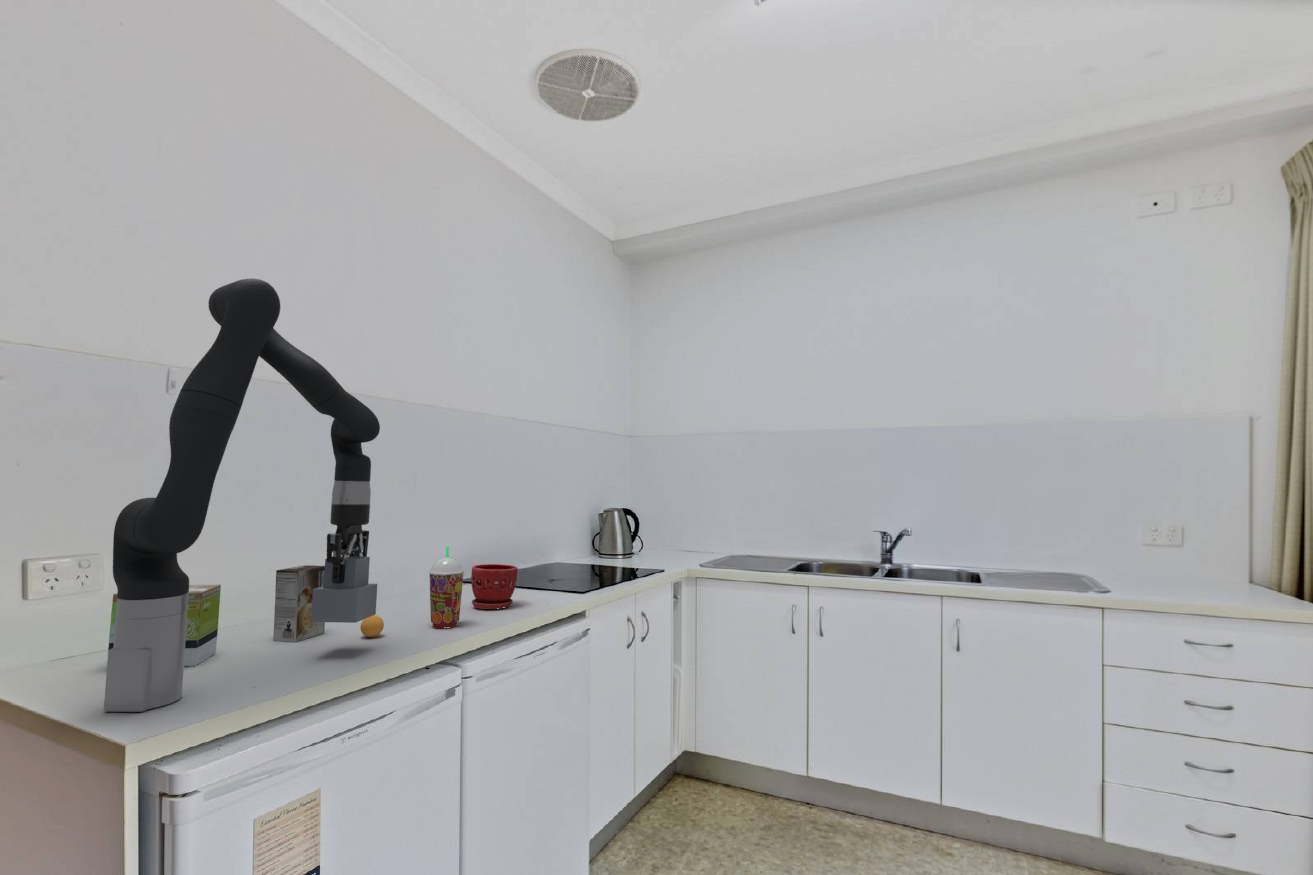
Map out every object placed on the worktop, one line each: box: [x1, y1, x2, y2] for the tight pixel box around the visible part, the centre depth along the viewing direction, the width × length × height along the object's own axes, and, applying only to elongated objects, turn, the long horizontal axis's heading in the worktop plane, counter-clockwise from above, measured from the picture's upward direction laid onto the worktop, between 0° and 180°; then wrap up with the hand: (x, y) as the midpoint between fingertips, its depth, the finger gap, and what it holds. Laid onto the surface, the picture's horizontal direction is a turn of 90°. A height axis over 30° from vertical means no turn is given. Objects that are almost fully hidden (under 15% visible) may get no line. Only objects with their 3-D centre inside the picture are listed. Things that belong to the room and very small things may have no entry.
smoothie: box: [428, 545, 465, 629], centre depth 158 cm, size 8×8×20 cm
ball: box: [359, 614, 385, 638], centre depth 146 cm, size 5×5×5 cm
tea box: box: [107, 584, 222, 668], centre depth 125 cm, size 15×10×15 cm, turn 105°
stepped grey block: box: [311, 555, 378, 624], centre depth 133 cm, size 9×9×13 cm
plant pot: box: [470, 563, 518, 610], centre depth 183 cm, size 13×13×12 cm
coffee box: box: [272, 564, 326, 643], centre depth 146 cm, size 9×6×16 cm
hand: (346, 580), depth 133 cm, fingers closed on stepped grey block, 6 cm apart
